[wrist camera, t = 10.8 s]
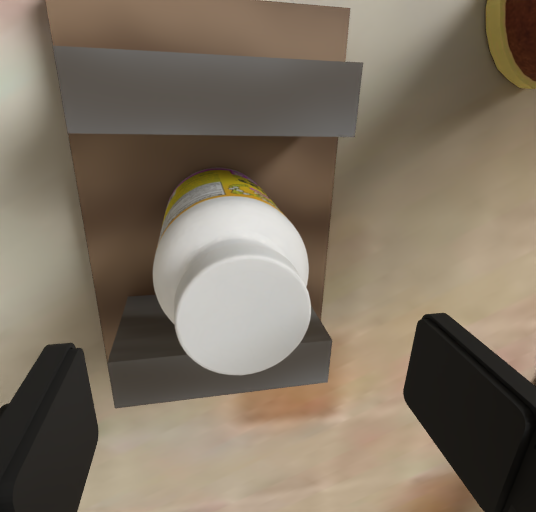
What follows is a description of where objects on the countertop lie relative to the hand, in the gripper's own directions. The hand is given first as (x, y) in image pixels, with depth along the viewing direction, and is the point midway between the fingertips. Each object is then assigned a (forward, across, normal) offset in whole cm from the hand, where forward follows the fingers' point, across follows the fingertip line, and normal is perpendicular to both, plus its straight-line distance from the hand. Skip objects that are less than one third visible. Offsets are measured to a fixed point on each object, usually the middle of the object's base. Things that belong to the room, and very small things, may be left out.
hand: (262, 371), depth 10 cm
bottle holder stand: (+17, +1, 0) cm, 17 cm away
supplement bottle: (+15, 0, 0) cm, 15 cm away
